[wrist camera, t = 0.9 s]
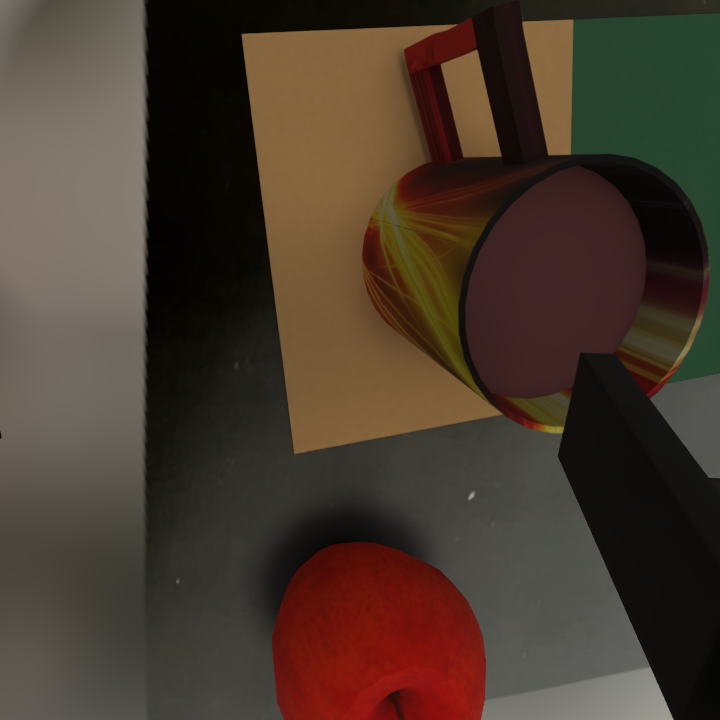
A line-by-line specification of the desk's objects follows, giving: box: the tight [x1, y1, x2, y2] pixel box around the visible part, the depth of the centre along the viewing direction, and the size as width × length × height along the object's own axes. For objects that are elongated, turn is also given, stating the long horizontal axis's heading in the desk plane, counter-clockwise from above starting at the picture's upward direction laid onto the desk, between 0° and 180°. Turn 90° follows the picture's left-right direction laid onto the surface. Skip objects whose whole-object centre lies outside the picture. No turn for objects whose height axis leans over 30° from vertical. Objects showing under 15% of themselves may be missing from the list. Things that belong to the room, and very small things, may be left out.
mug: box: [362, 0, 710, 433], centre depth 27 cm, size 10×14×12 cm
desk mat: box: [242, 13, 720, 454], centre depth 34 cm, size 20×32×1 cm, turn 95°
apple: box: [272, 542, 486, 720], centre depth 31 cm, size 10×10×12 cm
